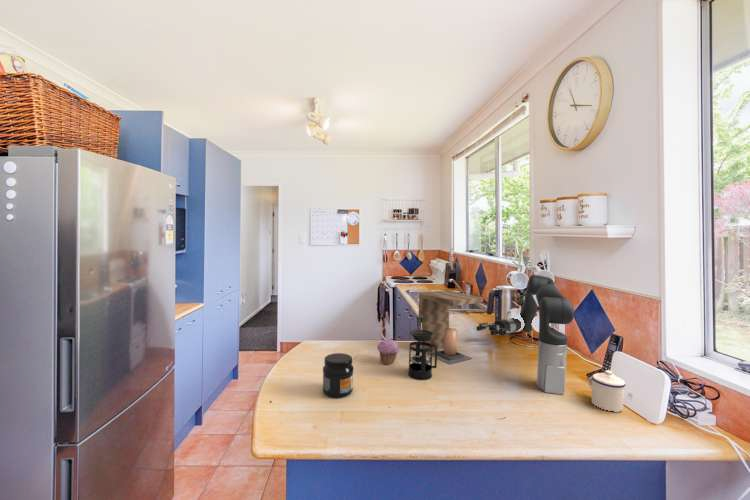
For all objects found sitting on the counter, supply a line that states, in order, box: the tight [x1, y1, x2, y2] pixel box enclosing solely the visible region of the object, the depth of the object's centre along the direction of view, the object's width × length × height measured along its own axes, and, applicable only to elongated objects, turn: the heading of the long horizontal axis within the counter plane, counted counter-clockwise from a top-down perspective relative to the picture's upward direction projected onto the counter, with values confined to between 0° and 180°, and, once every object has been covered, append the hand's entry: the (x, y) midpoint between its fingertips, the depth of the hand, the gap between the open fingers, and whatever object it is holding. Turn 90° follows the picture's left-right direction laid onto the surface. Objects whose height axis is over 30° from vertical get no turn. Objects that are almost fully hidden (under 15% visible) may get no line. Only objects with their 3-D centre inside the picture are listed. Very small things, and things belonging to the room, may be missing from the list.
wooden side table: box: [417, 290, 484, 354], centre depth 153 cm, size 18×22×28 cm
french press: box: [407, 316, 438, 381], centre depth 132 cm, size 12×9×23 cm
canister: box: [443, 327, 458, 357], centre depth 153 cm, size 6×6×12 cm
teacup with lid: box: [587, 369, 626, 413], centre depth 112 cm, size 12×9×12 cm
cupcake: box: [377, 339, 399, 366], centre depth 144 cm, size 9×9×10 cm
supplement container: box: [322, 352, 355, 399], centre depth 116 cm, size 10×10×12 cm
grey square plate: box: [427, 349, 473, 365], centre depth 153 cm, size 14×14×2 cm
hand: (484, 330), depth 165 cm, fingers open, 8 cm apart
